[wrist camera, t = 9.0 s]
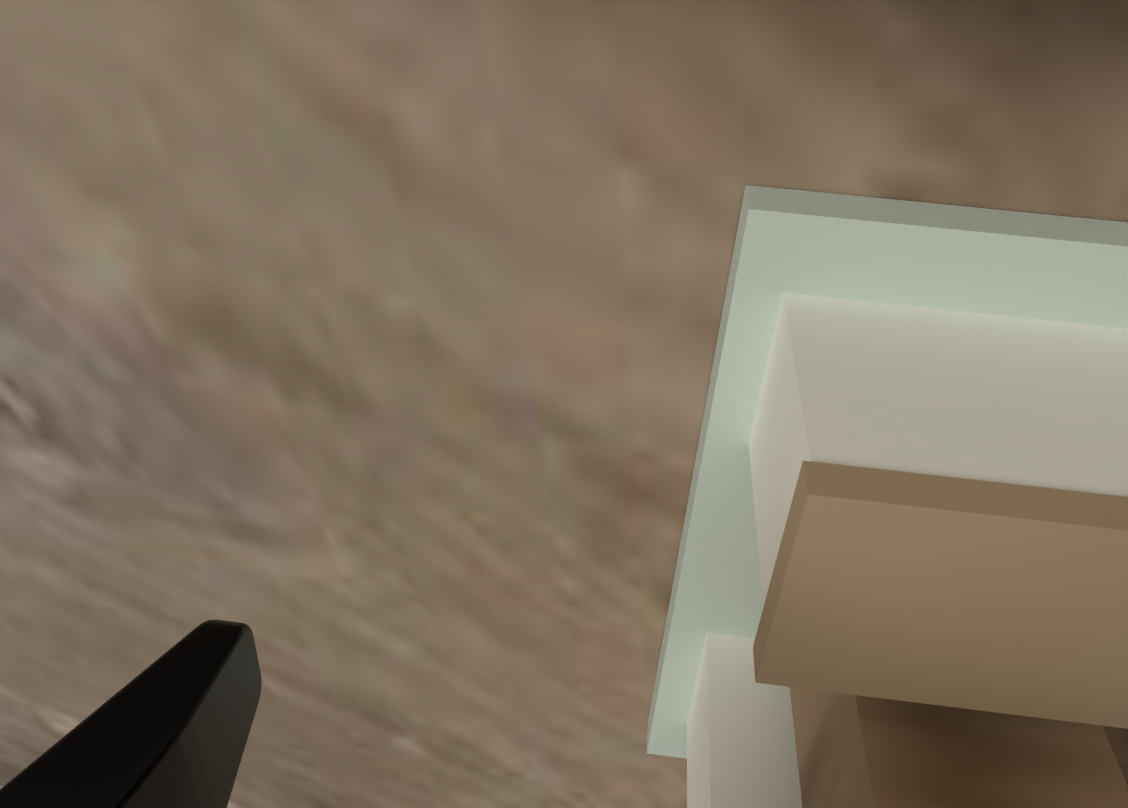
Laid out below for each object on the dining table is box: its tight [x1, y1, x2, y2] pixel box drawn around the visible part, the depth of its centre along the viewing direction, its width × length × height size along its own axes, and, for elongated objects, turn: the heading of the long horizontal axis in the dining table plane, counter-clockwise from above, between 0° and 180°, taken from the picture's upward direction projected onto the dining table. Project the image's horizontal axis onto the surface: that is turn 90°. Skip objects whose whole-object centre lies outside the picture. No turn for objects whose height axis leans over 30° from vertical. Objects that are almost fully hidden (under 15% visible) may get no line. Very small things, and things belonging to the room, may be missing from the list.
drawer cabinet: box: [647, 185, 1128, 808], centre depth 21 cm, size 10×18×8 cm, turn 176°
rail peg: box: [790, 687, 1128, 808], centre depth 20 cm, size 5×5×10 cm
